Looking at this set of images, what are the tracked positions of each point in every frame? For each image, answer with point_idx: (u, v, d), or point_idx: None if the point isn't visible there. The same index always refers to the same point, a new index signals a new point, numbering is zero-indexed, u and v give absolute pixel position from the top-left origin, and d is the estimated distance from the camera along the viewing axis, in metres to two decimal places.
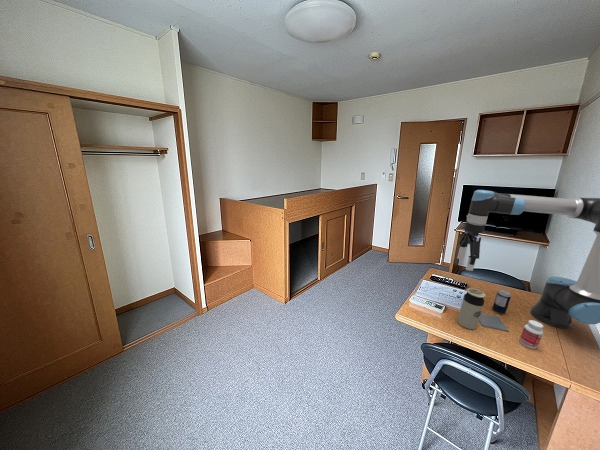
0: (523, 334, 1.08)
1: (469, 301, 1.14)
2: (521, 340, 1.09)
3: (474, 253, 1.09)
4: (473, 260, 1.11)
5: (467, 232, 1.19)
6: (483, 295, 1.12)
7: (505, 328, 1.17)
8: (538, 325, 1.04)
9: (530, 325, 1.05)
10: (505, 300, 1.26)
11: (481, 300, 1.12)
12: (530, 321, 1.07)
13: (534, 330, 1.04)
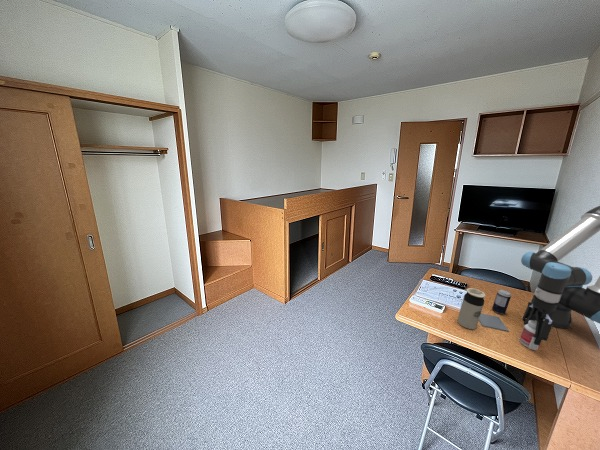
0: (523, 334, 1.08)
1: (469, 301, 1.14)
2: (521, 340, 1.08)
3: (542, 335, 1.00)
4: (539, 340, 1.02)
5: (533, 305, 1.07)
6: (483, 295, 1.12)
7: (505, 328, 1.17)
8: None
9: (530, 325, 1.05)
10: (505, 300, 1.26)
11: (481, 300, 1.12)
12: (530, 321, 1.07)
13: (534, 330, 1.04)
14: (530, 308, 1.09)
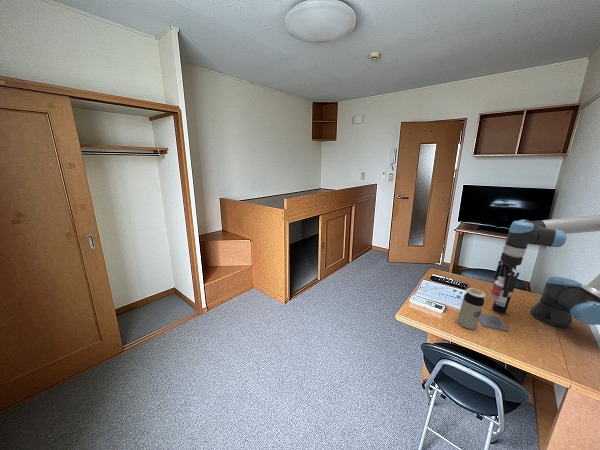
0: (493, 289, 1.18)
1: (469, 301, 1.14)
2: (492, 295, 1.18)
3: (508, 287, 1.10)
4: (506, 293, 1.12)
5: (502, 262, 1.17)
6: (483, 295, 1.12)
7: (505, 328, 1.17)
8: None
9: (499, 280, 1.15)
10: None
11: (481, 300, 1.12)
12: (499, 277, 1.17)
13: (503, 284, 1.14)
14: (500, 266, 1.19)
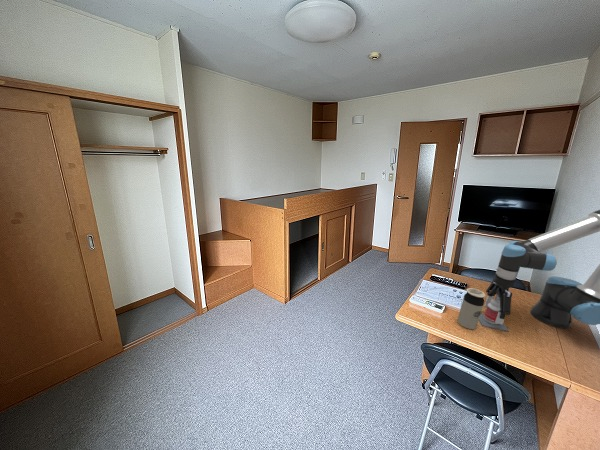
0: (486, 312, 1.21)
1: (469, 301, 1.14)
2: (485, 317, 1.22)
3: (505, 309, 1.10)
4: (503, 315, 1.12)
5: (496, 283, 1.20)
6: (483, 295, 1.12)
7: (505, 328, 1.17)
8: (498, 303, 1.18)
9: (492, 303, 1.19)
10: None
11: (481, 300, 1.12)
12: (492, 300, 1.20)
13: (495, 307, 1.18)
14: (493, 284, 1.23)
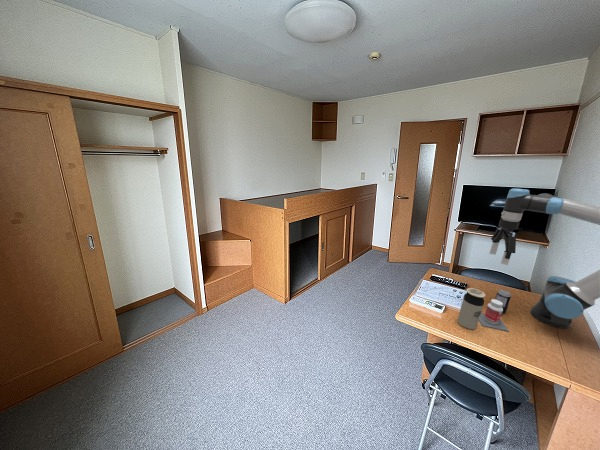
0: (486, 312, 1.21)
1: (469, 301, 1.14)
2: (485, 317, 1.22)
3: (510, 248, 1.16)
4: (509, 254, 1.18)
5: (501, 228, 1.26)
6: (483, 295, 1.12)
7: (505, 328, 1.17)
8: (498, 303, 1.18)
9: (492, 303, 1.19)
10: (505, 300, 1.26)
11: (481, 300, 1.12)
12: (492, 300, 1.20)
13: (495, 307, 1.18)
14: (498, 230, 1.29)
